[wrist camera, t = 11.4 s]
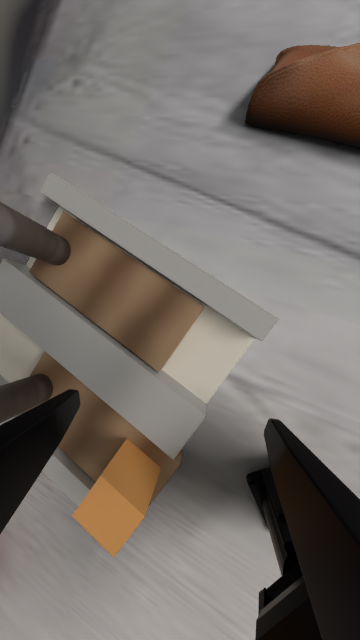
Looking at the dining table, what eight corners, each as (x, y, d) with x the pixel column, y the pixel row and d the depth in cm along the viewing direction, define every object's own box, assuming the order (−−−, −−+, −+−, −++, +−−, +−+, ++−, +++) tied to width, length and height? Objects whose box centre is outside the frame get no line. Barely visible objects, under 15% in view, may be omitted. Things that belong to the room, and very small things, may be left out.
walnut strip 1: (204, 307, 19) (192, 280, 6) (162, 368, 19) (71, 458, 7) (73, 218, 21) (-129, 68, 9) (41, 275, 22) (-189, 213, 9)
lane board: (267, 319, 19) (279, 318, 15) (127, 507, 21) (112, 540, 18) (73, 193, 23) (50, 172, 19) (-25, 365, 25) (-59, 371, 22)
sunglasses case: (477, 80, 16) (594, 6, 10) (401, 178, 20) (457, 162, 14) (275, 48, 19) (284, -23, 13) (245, 139, 22) (241, 114, 17)
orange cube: (161, 467, 18) (145, 516, 13) (137, 500, 18) (113, 557, 14) (126, 438, 19) (100, 475, 14) (104, 470, 19) (71, 515, 15)
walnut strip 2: (183, 452, 19) (128, 718, 6) (142, 506, 20) (21, 839, 7) (57, 347, 22) (-161, 385, 9) (25, 398, 22) (-217, 500, 10)
